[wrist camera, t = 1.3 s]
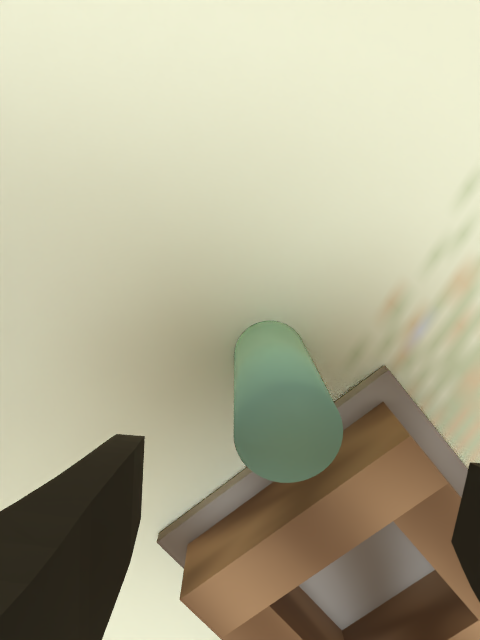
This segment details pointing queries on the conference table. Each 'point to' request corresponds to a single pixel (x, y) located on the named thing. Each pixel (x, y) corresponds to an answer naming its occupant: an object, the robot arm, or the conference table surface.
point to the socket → (337, 538)
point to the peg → (282, 406)
